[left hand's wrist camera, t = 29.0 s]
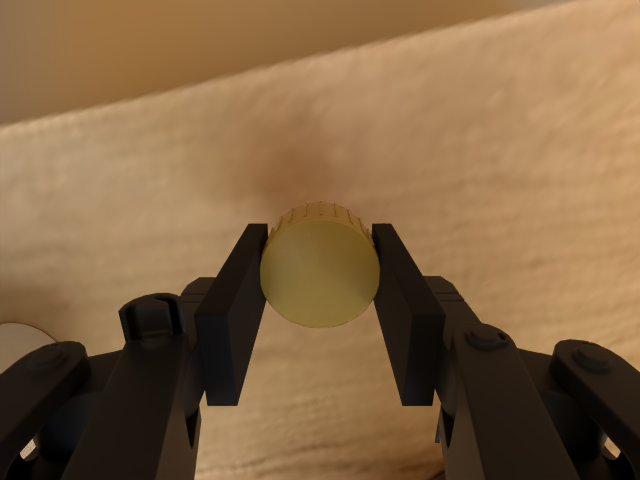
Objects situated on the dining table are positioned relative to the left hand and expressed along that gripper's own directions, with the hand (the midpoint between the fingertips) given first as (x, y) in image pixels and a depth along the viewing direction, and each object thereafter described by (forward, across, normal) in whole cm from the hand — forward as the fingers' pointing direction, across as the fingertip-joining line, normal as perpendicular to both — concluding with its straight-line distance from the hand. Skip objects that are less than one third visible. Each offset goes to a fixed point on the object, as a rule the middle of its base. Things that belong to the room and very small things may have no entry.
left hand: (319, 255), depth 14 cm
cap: (-2, 0, 0) cm, 2 cm away
